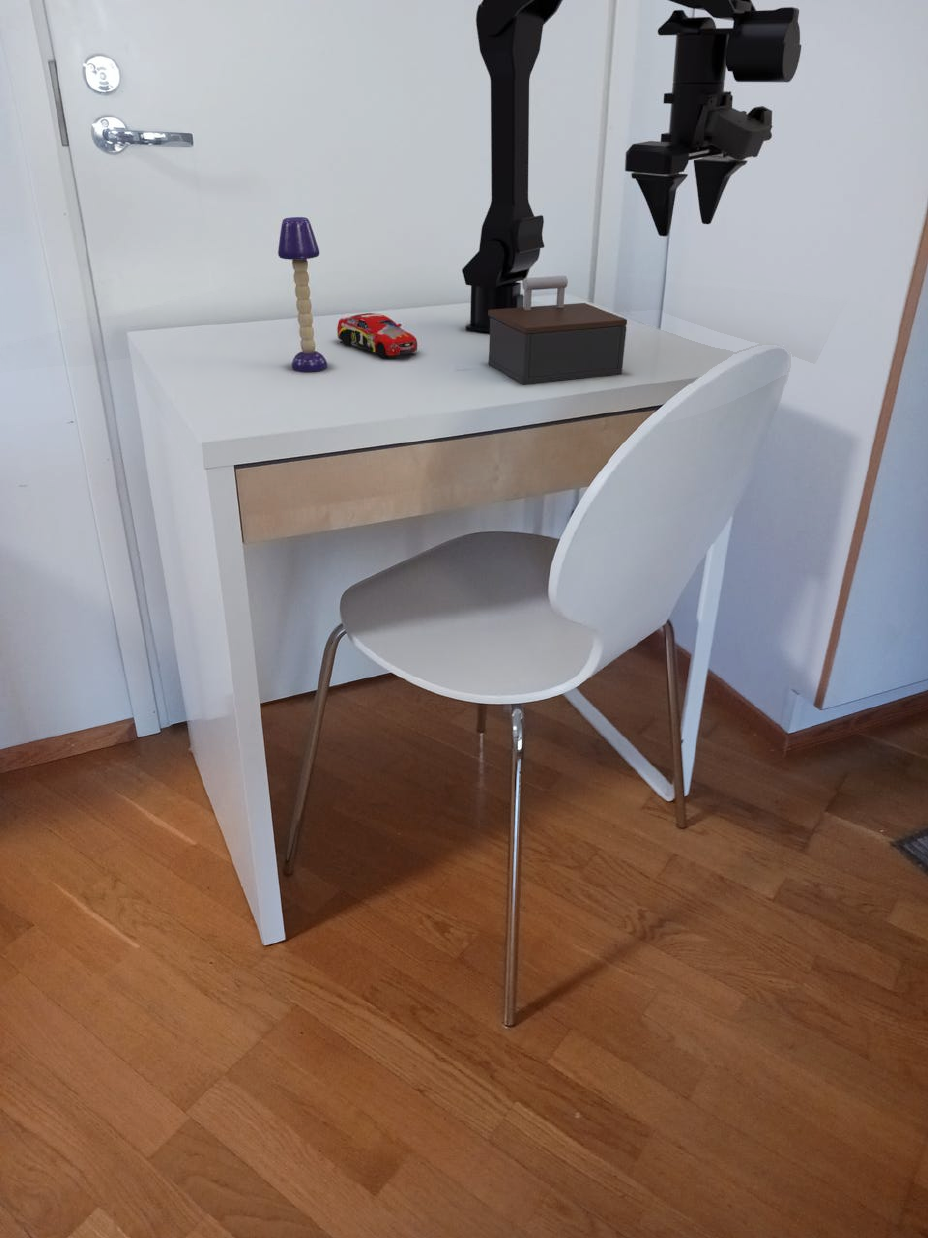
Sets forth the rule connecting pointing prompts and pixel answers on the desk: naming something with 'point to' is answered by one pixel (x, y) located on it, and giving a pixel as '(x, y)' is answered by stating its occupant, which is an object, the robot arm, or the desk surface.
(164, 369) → the desk surface
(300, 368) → the toy lamp
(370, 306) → the desk surface
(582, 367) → the dark grey box
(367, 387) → the desk surface
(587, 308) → the lid
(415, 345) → the race car
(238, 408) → the desk surface
